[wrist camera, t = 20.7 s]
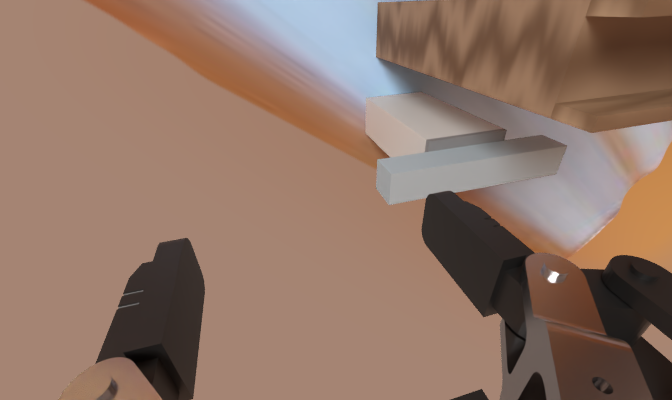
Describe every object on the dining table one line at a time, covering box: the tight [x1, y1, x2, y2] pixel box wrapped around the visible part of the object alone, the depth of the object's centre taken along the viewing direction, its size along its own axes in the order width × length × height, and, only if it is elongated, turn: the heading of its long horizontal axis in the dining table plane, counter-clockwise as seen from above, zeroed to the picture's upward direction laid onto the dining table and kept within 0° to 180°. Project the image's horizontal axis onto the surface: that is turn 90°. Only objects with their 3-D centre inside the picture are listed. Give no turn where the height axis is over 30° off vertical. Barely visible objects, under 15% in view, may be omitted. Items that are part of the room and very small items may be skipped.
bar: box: [376, 135, 567, 205], centre depth 35 cm, size 4×21×4 cm, turn 92°
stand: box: [376, 0, 672, 133], centre depth 32 cm, size 7×14×35 cm, turn 92°
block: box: [365, 92, 507, 157], centre depth 45 cm, size 6×10×20 cm, turn 92°
